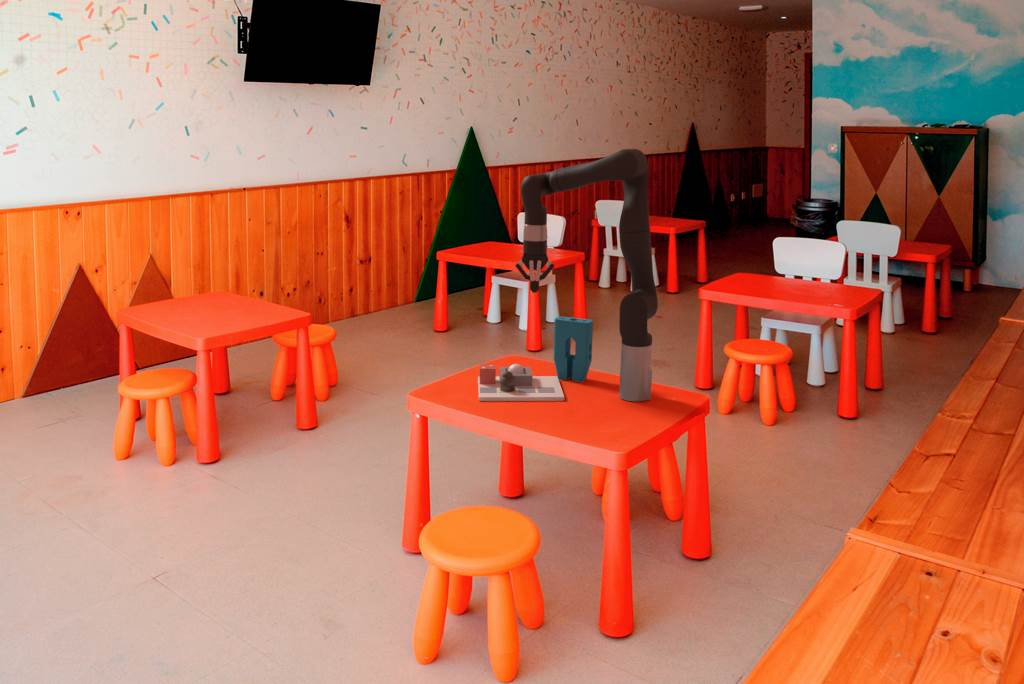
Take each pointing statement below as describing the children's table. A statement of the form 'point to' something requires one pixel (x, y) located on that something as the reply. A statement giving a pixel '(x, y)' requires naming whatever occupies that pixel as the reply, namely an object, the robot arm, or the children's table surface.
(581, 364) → the block
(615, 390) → the children's table surface
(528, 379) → the dome housing
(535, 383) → the game board
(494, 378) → the die
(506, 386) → the pawn
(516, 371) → the dome
